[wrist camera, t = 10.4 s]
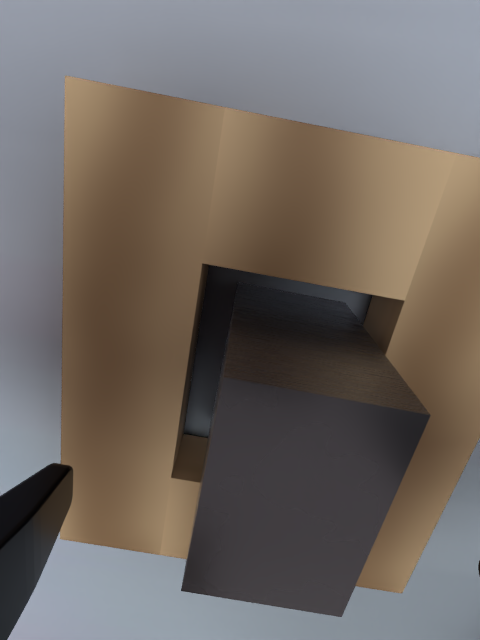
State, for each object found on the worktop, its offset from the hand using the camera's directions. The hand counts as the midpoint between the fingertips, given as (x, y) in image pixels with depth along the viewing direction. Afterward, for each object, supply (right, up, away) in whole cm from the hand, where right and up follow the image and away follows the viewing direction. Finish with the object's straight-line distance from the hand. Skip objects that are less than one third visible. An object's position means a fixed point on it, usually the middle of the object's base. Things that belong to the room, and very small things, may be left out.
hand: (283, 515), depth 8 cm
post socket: (0, +2, +7) cm, 7 cm away
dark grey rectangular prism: (0, +2, +7) cm, 7 cm away
